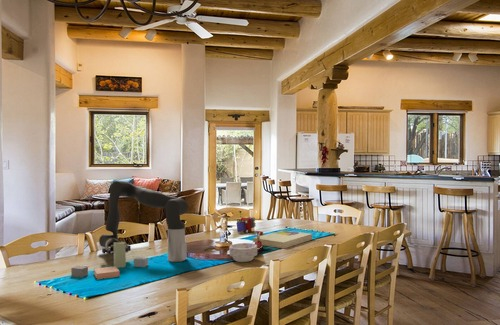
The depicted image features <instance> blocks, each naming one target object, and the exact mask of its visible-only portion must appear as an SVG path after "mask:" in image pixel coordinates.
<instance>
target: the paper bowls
mask: <svg viewBox="0 0 500 325" xmlns="http://www.w3.org/2000/svg"><path fill="white" fill-rule="evenodd" d="M228 248H229V252H228V253H229V256H230V257H232V259H233V260H234V261H236V262H237V263H238V262H239V263H247V262H252V261H253V260H254V258H255V256H257V255H258V250H257V245H255V244H253V243H249V242H240V243H233V244H230V245H229V247H228Z"/></svg>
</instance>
